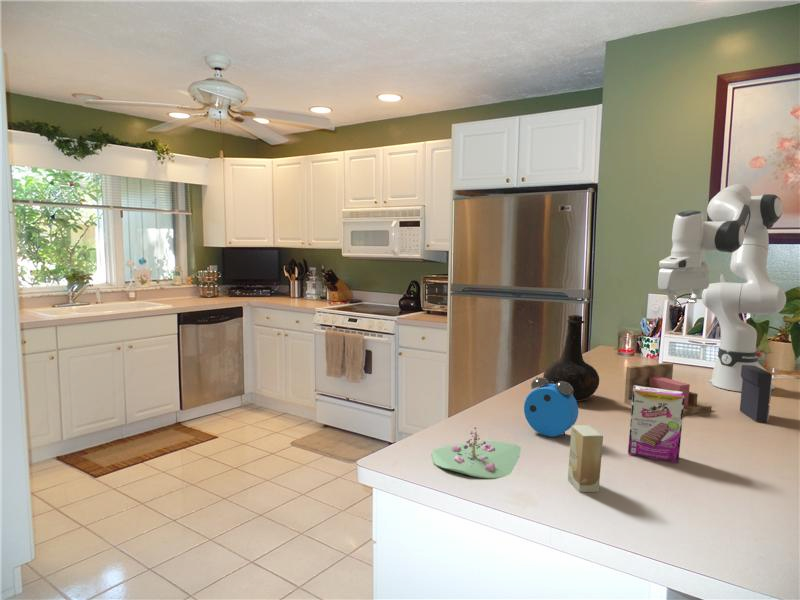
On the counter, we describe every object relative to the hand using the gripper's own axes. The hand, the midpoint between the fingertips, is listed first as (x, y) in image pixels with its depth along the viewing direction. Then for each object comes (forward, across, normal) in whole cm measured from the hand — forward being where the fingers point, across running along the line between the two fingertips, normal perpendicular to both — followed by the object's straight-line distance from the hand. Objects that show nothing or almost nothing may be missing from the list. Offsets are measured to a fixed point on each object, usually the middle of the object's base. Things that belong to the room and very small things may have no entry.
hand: (682, 304), depth 167 cm
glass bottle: (+32, +31, -16) cm, 48 cm away
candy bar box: (+31, +48, +30) cm, 64 cm away
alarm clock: (+31, +62, +9) cm, 69 cm away
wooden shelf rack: (+32, +8, +3) cm, 34 cm away
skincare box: (+30, +76, +36) cm, 89 cm away
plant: (+30, +88, +15) cm, 94 cm away
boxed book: (+31, +8, +3) cm, 32 cm away
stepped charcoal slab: (+33, -8, +20) cm, 39 cm away
